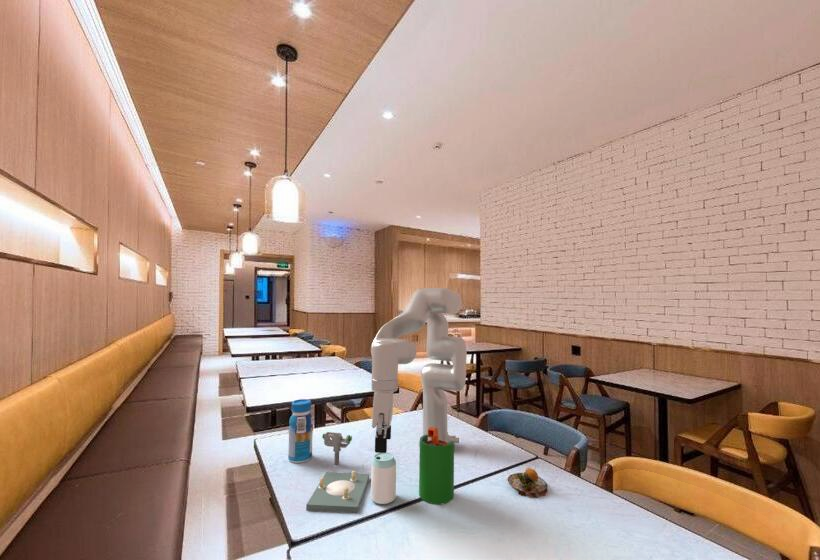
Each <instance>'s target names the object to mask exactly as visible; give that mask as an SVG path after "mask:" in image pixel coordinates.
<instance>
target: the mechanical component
mask: <svg viewBox="0 0 820 560" xmlns="http://www.w3.org/2000/svg"><path fill="white" fill-rule="evenodd" d="M321 436H322V439H323V440H324V442H323V443H324V446H326V447H329V448H330V447H332V449H333V450H332V451H333V452H334V463H333V465H335V466H338V465H339V464H340V452H341V451H342V449H345V448H347V447H348V446H349V445H350V444H351V441H352V440H353V436H352V435H349V434H348V435H346V437H345V438H344V437H343V434H342V432H330V431H327V432H326V433H323V434H322V435H321Z"/></svg>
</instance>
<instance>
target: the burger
mask: <svg viewBox="0 0 820 560" xmlns="http://www.w3.org/2000/svg"><path fill="white" fill-rule="evenodd" d="M536 467H537V465H535V468H531V467H526V468H525V471H524V472H517V473H512V474H510V475H508V477H507V479H506V480H507V482H508V484H509V486H510V487H512V488H513V489H515V490H516V491H517V494H518V496H519V495H520V496H521V497H526V496H527V495H528V494H529V496H530V497H531V498H533V499H536V498H537V499H538V498H539V497H542V496H544V497H545V496H546V495H547V494H548V491H549V490H548V483H547V482H546V480H545V479H543V478H542V477H540V476H539V475H538V472H537V471H536Z"/></svg>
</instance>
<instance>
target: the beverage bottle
mask: <svg viewBox="0 0 820 560" xmlns="http://www.w3.org/2000/svg"><path fill="white" fill-rule="evenodd" d="M311 410H312V400H310V399H309V398H308V399H307V398H303V399H302V398H299V399H296V400H293V401H292V402H291V412H292V414H291V416H290V417H289V420H288V421H289V422H288V423H289V426H288V430H287V431H288V458H287V459H288V461H289V462H290V463H293V464H301V463H307V462H308V461H310V460H311V459H312V457H313V431H314V425H313V421H314V418H313V416H312V414H311Z"/></svg>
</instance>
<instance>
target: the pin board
mask: <svg viewBox="0 0 820 560" xmlns="http://www.w3.org/2000/svg"><path fill="white" fill-rule="evenodd" d="M369 481H370V473H359V472H358V473H356V470H352V471H351V472H337V471H336V472H334V471H333V472H331V471H325V473H324V475H323V477H319V483H318V485H317V486H316V488H315V490H314V491H313V493H312V495H311V497H310V498H308V501H307V503H306V509H305V510H306V511H315V512H319V511H320V512H336V513H359V509H360V506H361V504H362V501H363V498H364V495H365V493H366V490H367V488H368V487H367V486H368V484H369Z"/></svg>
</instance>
